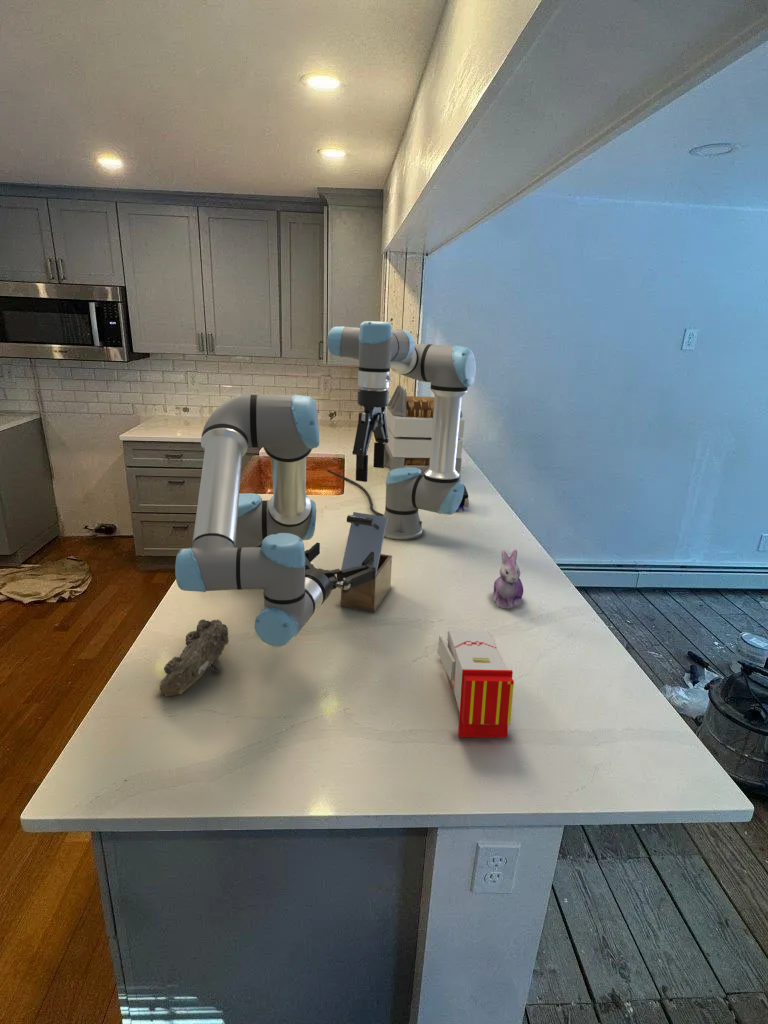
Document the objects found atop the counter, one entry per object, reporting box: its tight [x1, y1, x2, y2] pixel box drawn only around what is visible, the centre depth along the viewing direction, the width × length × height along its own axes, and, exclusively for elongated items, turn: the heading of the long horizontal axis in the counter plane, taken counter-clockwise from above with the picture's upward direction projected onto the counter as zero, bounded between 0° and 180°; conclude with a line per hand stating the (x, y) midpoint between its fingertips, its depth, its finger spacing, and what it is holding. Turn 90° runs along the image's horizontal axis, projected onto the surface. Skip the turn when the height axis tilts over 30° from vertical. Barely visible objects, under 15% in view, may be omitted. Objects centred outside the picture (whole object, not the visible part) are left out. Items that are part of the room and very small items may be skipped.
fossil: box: [159, 619, 229, 697], centre depth 120 cm, size 22×10×15 cm
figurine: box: [492, 548, 524, 609], centre depth 154 cm, size 9×10×15 cm
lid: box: [340, 511, 388, 573], centre depth 143 cm, size 16×9×9 cm
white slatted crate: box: [384, 384, 465, 481], centre depth 268 cm, size 34×33×41 cm
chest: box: [340, 553, 393, 613], centre depth 154 cm, size 15×9×10 cm, turn 163°
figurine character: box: [455, 485, 470, 512], centre depth 229 cm, size 7×8×15 cm
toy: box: [437, 628, 515, 738], centre depth 117 cm, size 12×13×30 cm
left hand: (345, 552), depth 133 cm, fingers open, 13 cm apart
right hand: (370, 474), depth 144 cm, fingers open, 13 cm apart
